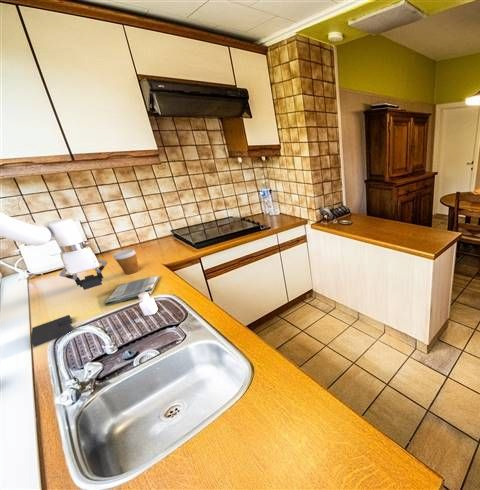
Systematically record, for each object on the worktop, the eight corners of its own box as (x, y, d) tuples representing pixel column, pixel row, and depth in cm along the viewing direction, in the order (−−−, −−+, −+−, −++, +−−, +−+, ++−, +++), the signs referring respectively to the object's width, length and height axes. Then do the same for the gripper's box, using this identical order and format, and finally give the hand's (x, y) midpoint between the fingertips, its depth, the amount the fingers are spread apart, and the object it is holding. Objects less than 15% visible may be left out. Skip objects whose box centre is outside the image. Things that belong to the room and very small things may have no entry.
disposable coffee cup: (140, 266, 155) (132, 247, 150) (145, 270, 149) (136, 251, 144) (119, 272, 148) (110, 253, 143) (123, 277, 142) (114, 257, 138)
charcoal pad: (74, 333, 102) (70, 327, 101) (35, 348, 96) (30, 342, 94) (72, 320, 110) (69, 314, 109) (36, 333, 103) (32, 327, 102)
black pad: (84, 290, 118) (81, 284, 117) (82, 283, 124) (79, 278, 123) (102, 284, 122) (99, 278, 121) (100, 278, 128) (97, 273, 127)
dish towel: (118, 287, 133) (115, 282, 132) (160, 278, 140) (158, 272, 139) (103, 307, 118) (100, 301, 116) (152, 295, 124) (150, 290, 123)
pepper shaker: (143, 316, 110) (134, 297, 106) (148, 311, 114) (139, 292, 110) (154, 314, 111) (146, 295, 107) (159, 309, 114) (150, 290, 111)
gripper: (99, 239, 123) (115, 273, 130) (43, 251, 111) (64, 288, 118) (101, 243, 118) (117, 278, 125) (43, 256, 107) (64, 294, 114)
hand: (91, 282), depth 122 cm, fingers closed on black pad, 6 cm apart
